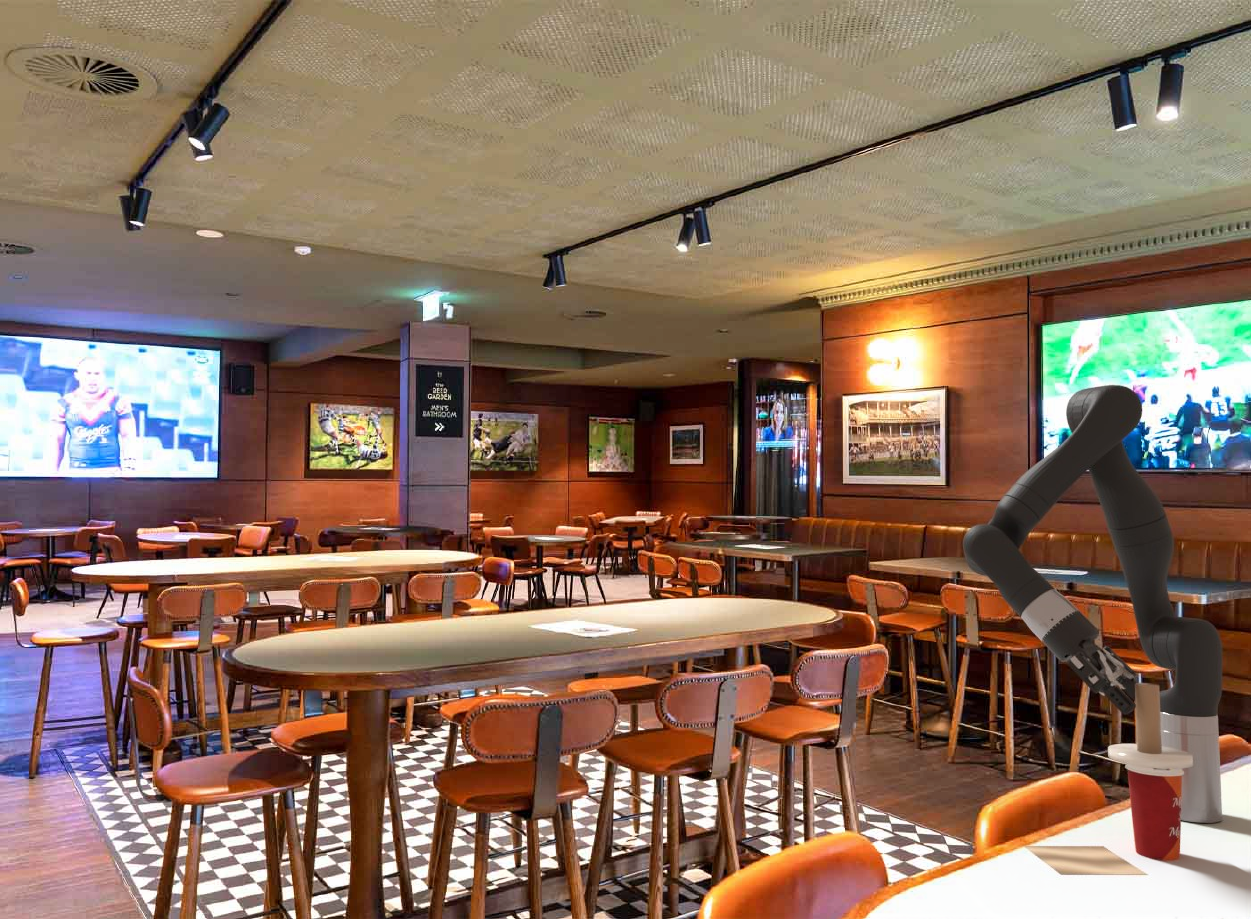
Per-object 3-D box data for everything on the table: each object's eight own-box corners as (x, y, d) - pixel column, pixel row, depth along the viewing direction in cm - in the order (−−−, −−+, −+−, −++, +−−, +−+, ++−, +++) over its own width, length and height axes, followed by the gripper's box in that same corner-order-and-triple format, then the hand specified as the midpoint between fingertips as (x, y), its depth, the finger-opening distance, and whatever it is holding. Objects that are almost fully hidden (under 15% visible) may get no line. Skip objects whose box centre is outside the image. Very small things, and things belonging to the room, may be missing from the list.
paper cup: (1196, 869, 135) (1192, 768, 136) (1137, 865, 137) (1134, 765, 138) (1176, 851, 143) (1172, 756, 144) (1120, 847, 144) (1117, 753, 145)
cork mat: (1023, 850, 143) (1023, 846, 143) (1103, 850, 143) (1103, 846, 143) (1060, 878, 131) (1060, 874, 131) (1147, 879, 131) (1147, 874, 131)
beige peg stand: (1094, 751, 147) (1092, 678, 147) (1165, 751, 147) (1162, 679, 147) (1132, 768, 136) (1130, 690, 136) (1209, 769, 136) (1206, 690, 137)
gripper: (1059, 611, 144) (1144, 697, 136) (1091, 607, 155) (1173, 687, 146) (1025, 643, 148) (1106, 729, 139) (1058, 637, 158) (1136, 717, 149)
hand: (1140, 707), depth 142 cm, fingers open, 8 cm apart
